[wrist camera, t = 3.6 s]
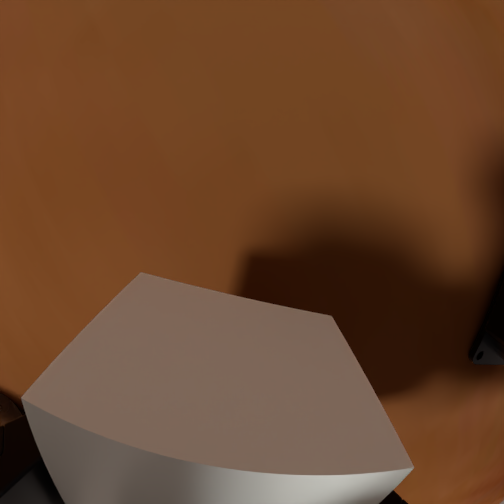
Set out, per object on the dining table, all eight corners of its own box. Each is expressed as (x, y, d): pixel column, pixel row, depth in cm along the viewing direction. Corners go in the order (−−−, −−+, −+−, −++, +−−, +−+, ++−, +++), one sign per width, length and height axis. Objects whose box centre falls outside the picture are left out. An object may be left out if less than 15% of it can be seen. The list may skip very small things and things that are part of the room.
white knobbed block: (331, 315, 8) (452, 547, 1) (269, 456, 9) (281, 615, 3) (141, 271, 7) (-42, 478, 1) (131, 427, 9) (76, 580, 2)
